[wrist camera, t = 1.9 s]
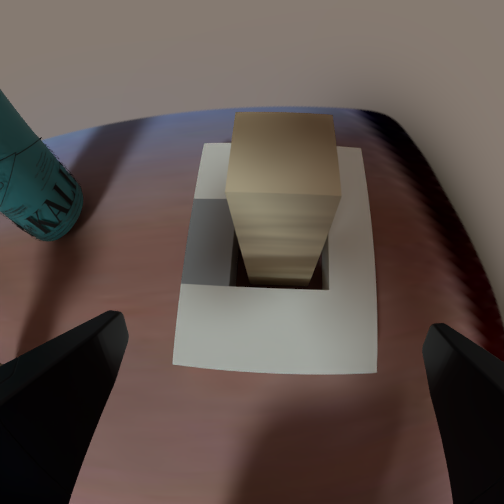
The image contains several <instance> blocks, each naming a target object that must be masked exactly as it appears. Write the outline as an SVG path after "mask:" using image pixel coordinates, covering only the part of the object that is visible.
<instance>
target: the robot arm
mask: <svg viewBox="0 0 504 504" xmlns="http://www.w3.org/2000/svg"><path fill="white" fill-rule="evenodd" d="M128 339H129V335H128V330H127V327H126V323H125V319H124V316H123V314H122V313H121V312H119V311H112V310H109V311H107V312H105V313H103V314H101V315H99V316H97V317H95V318H93V319H91V320H89V321H87V322H85V323H83V324H81V325H79V326H77V327H75V328H73V329H71V330H69V331H67V332H65V333H64V334H62V335H60V336H58V337H56V338H54V339H52V340H50V341H48V342H46V343H44V344H42V345H40V346H38V347H36V348H34V349H33V350H31V351H29V352H27V353H25V354H23V355H21V356H19V358H15V359H13V360H11V361H9V362H7V363H5V364H3V365H1V366H0V504H69V501H70V498H71V494H72V492H73V489H74V486H75V483H76V480H77V477H78V474H79V471H80V469H81V466H82V463H83V460H84V458H85V455H86V452H87V450H88V447H89V445H90V442H91V439H92V437H93V434H94V432H95V429H96V427H97V424H98V422H99V419H100V417H101V414H102V412H103V409H104V407H105V405H106V402H107V400H108V398H109V395H110V393H111V390H112V388H113V386H114V383H115V381H116V378H117V375H118V371H119V368H120V365H121V362H122V359H123V355H124V352H125V349H126V346H127V343H128ZM422 353H423V358H424V363H425V368H426V373H427V379H428V385H429V390H430V395H431V399H432V403H433V407H434V411H435V414H436V418H437V422H438V426H439V430H440V435H441V439H442V444H443V448H444V453H445V458H446V463H447V468H448V473H449V479H450V485H451V491H452V498H453V504H504V362H502V361H501V360H499V359H498V358H497V357H495V356H494V355H492V354H491V353H489V352H488V351H486V350H485V349H483V348H482V347H480V346H479V345H477V344H476V343H474V342H472V341H471V340H469V339H468V338H466V337H465V336H463V335H462V334H460V333H459V332H457V331H456V330H454V329H452V328H451V327H449V326H448V325H446V324H444V323H436V324H432V325H431V326H430V328H429V331H428V334H427V336H426V339H425V342H424V344H423V348H422Z"/></svg>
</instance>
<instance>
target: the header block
mask: <svg viewBox="0 0 504 504" xmlns="http://www.w3.org/2000/svg"><path fill="white" fill-rule="evenodd" d="M230 149H231V143H206V144H204V147H203V152H202V157H201V162H200V168H199V173H198V178H197V184H196V190H195V195H194V201H193V207H192V213H191V219H190V225H189V232H188V238H187V245H186V252H185V259H184V266H183V273H182V281H181V289H180V297H179V305H178V314H177V323H176V332H175V342H174V353H173V364H174V365H182V366H190V367H199V368H208V369H218V370H230V371H243V372H258V373H279V374H364V373H377V294H376V274H375V259H374V246H373V234H372V224H371V215H370V206H369V198H368V191H367V183H366V176H365V170H364V163H363V157H362V151H361V148H353V147H341V146H337V154H338V163H339V173H340V183H341V195H342V196H341V199H340V202H339V205H338V208H337V211H336V213H335V216H334V219H333V222H332V225H331V227H330V230H329V233H328V235H327V238H326V241H325V243H324V246H323V249H322V290H305V289H277V288H253V287H236V277H237V265H238V253H239V242H238V238H237V235H236V231H235V227H234V224H233V220H232V216H231V213H230V209H229V205H228V202H227V198H226V195H225V187H226V180H227V172H228V164H229V157H230Z"/></svg>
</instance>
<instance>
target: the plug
mask: <svg viewBox="0 0 504 504" xmlns="http://www.w3.org/2000/svg"><path fill="white" fill-rule="evenodd" d="M225 195H226V198H227V202H228V205H229V209H230V213H231V216H232V220H233V224H234V227H235V231H236V235H237V238H238V242H239V245H240V249H241V253H242V256H243V260H244V263H245V267H246V271H247V274H248V278H249V281H250V284H256V285H282V286H308V285H309V282H310V280H311V277H312V275H313V272H314V269H315V267H316V264H317V262H318V259H319V257H320V254H321V251H322V249H323V246H324V243H325V241H326V238H327V235H328V233H329V230H330V227H331V225H332V222H333V219H334V216H335V213H336V211H337V208H338V205H339V202H340V199H341V196H342V195H341V183H340V173H339V163H338V154H337V146H336V138H335V130H334V123H333V116H332V115H326V114H311V113H287V112H236V114H235V120H234V127H233V135H232V142H231V149H230V157H229V164H228V172H227V180H226V187H225Z"/></svg>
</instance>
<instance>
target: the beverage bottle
mask: <svg viewBox="0 0 504 504" xmlns="http://www.w3.org/2000/svg"><path fill="white" fill-rule="evenodd" d="M40 139H41V138H39V137H38V136H37V135H36V134H35V133H34V132H33V131H32V130H31V128H30V127H29V126H28V125H27V123H26V122H25V121H24V120H23V118H22V117H21V116H20V114H19V113H18V112H17V111H16V109H15V108H14V107H13V105H12V104H11V103H10V101H9V100H8V99H7V97H6V96H5V95H4V94H3V92H2V91H1V89H0V212H2V213H3V216H4V214H5V215H6V217H8V218H9V219H11V220H12V222H14V223H15V224H16V226H17V227H19V228H20V229H22V230H24V229H25V230H26V231H25V230H24V231H25V232H27V231H28V232H29V233H28V232H27V233H28V234H30V235H32V236H35V237H36V238H35V239H37V238H38V239H40V240H43V241H54V240H57V239H59V238H61V237H62V236H64V235H65V234H66V233H67V232H68V231H69V230H70V229H71V228H72V227H73V225H74V224H75V223H76V221H77V219H78V217H79V215H80V213H81V210H82V206H83V194H82V191H81V188H80V187H81V186H79V185H78V183H77V182H76V180H75V179H76V178H75V179H74V178H72V176H71V175H72V174H69V173H68V172H67V171H66V170H67V169H65V168H66V167H64V166H63V163H62V164H61V163H60V162H59V161H58V160H57V159H56V157H55V156H56V155H55V156H54V155H53V154H52V153H51V152H52V151H51V152H50V149H48V148H47V147H46V146H45V144H44V143H43V142H42V141H41V140H40ZM49 148H50V147H49ZM58 159H59V158H58ZM68 171H69V170H68ZM69 172H70V171H69ZM77 181H78V180H77ZM79 184H80V183H79ZM2 213H1V214H2ZM14 223H13V224H14ZM20 226H21V227H20ZM32 236H31V237H32ZM40 240H39V241H40Z"/></svg>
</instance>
